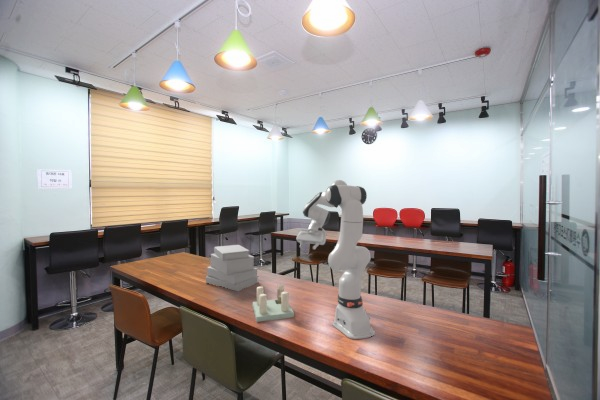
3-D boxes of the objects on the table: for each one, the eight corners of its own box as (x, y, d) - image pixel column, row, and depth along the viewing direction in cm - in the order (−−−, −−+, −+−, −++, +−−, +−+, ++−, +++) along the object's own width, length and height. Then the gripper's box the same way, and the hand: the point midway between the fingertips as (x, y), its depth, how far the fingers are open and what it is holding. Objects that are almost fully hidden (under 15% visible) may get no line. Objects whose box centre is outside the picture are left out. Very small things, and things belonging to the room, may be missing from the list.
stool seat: (293, 317, 143) (293, 295, 143) (256, 321, 137) (256, 299, 137) (285, 302, 162) (285, 282, 162) (252, 306, 157) (252, 286, 156)
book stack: (235, 294, 176) (234, 255, 175) (199, 284, 194) (199, 249, 193) (263, 281, 202) (263, 247, 201) (230, 274, 219) (230, 243, 219)
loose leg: (285, 305, 157) (285, 285, 157) (279, 307, 154) (279, 287, 154) (281, 303, 160) (281, 284, 160) (275, 305, 157) (275, 285, 157)
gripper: (298, 227, 182) (291, 243, 174) (326, 229, 172) (319, 246, 164) (302, 232, 186) (295, 249, 178) (328, 235, 176) (322, 252, 168)
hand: (307, 248), depth 171 cm, fingers open, 8 cm apart
